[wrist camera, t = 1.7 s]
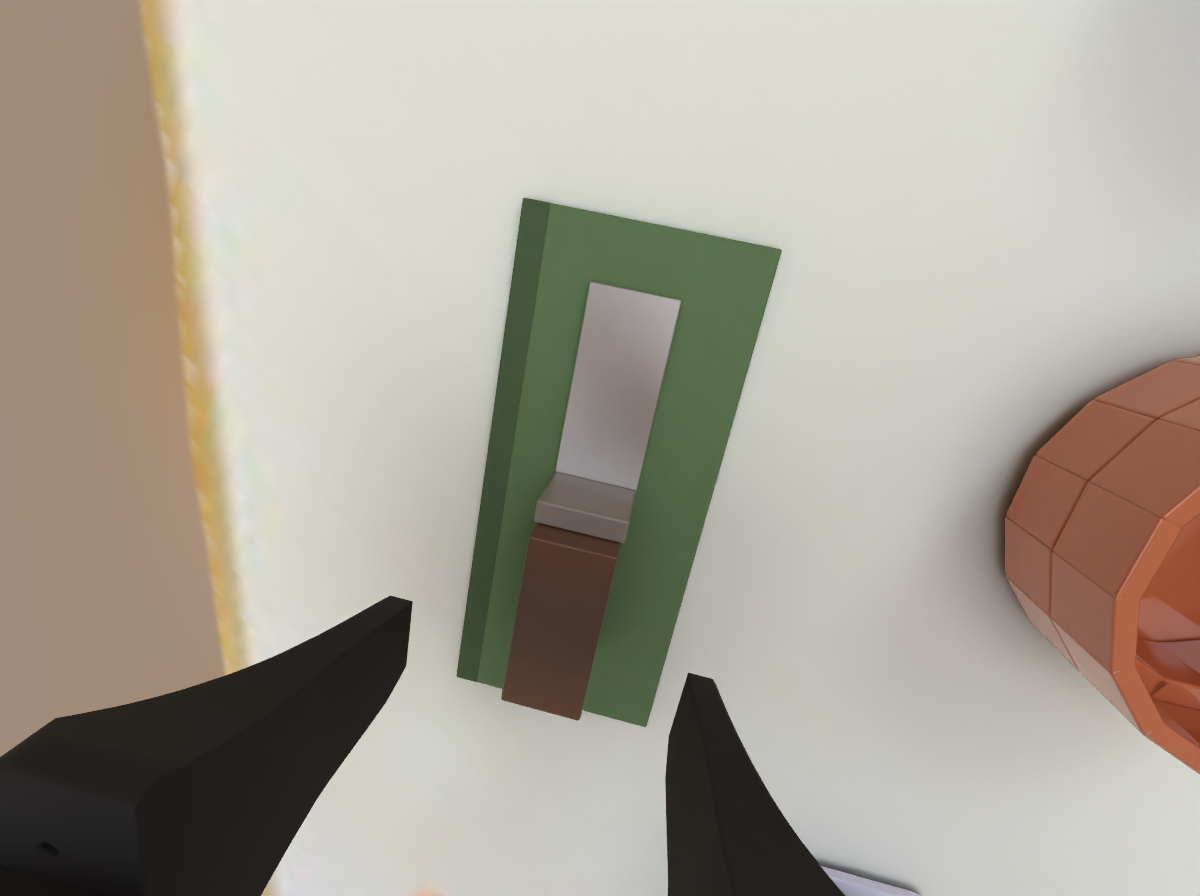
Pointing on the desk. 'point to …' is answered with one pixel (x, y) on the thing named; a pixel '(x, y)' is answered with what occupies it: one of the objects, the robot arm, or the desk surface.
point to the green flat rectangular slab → (675, 447)
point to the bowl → (1121, 550)
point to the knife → (588, 497)
